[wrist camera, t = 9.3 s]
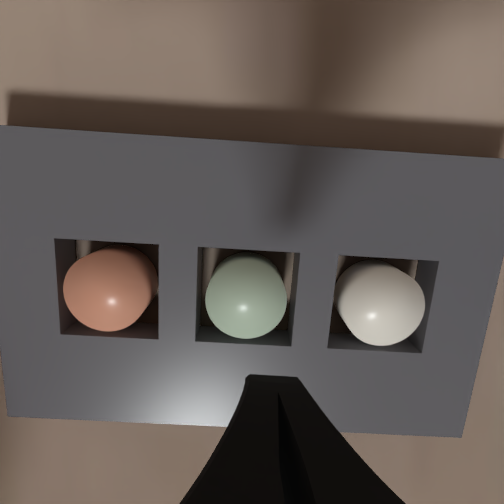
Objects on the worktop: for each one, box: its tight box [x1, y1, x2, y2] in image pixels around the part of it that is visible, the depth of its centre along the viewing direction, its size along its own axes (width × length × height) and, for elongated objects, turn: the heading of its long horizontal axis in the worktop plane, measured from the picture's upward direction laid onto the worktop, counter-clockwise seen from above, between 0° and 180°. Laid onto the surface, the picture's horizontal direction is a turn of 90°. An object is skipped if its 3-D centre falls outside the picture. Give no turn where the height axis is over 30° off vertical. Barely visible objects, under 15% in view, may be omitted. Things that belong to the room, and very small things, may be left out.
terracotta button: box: [63, 245, 158, 331], centre depth 14 cm, size 3×3×2 cm
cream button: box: [334, 260, 425, 346], centre depth 14 cm, size 3×3×2 cm
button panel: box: [0, 125, 504, 438], centre depth 14 cm, size 20×12×2 cm, turn 86°
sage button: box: [205, 252, 287, 339], centre depth 14 cm, size 3×3×2 cm
